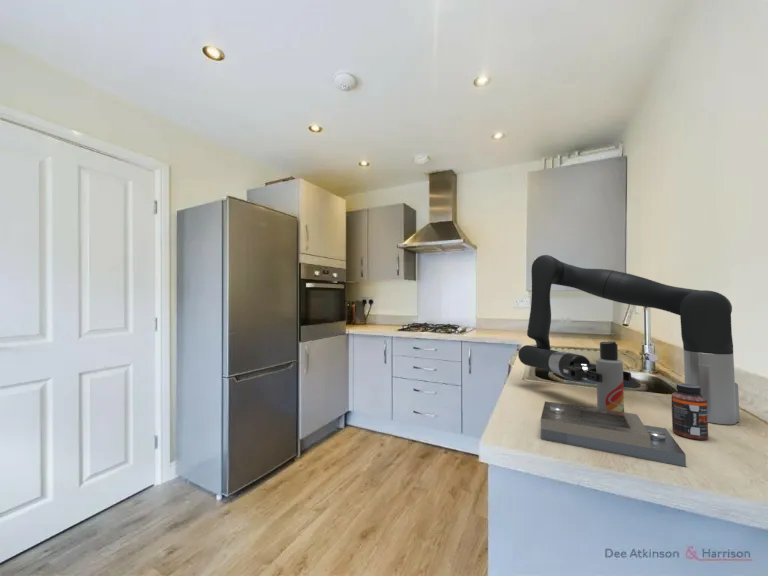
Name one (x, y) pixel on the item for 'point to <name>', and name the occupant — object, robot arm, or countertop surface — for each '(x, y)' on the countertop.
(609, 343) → the lotion bottle
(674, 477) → the countertop surface
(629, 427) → the bolted steel plate
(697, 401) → the supplement bottle
